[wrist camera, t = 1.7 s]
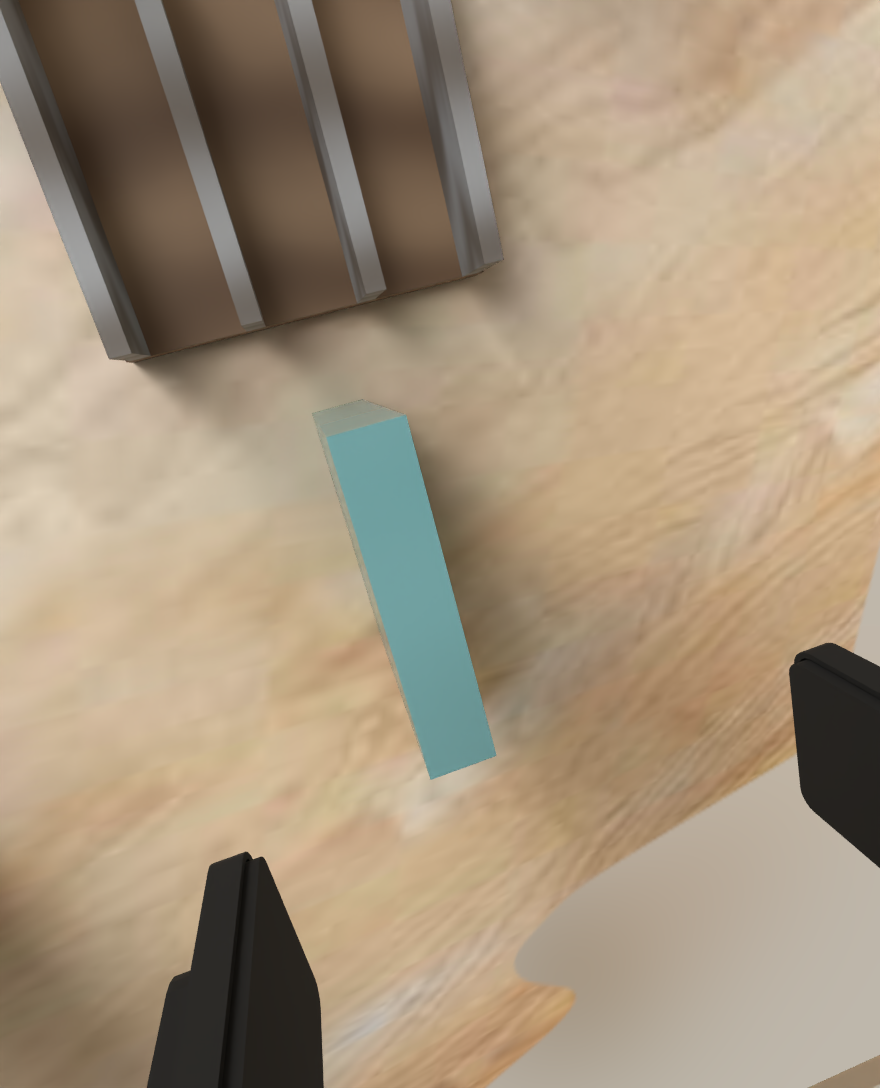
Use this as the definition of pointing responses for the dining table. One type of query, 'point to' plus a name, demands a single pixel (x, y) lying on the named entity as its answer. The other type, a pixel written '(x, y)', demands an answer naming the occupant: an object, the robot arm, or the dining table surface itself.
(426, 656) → the teal slab
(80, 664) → the dining table surface
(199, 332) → the rack
